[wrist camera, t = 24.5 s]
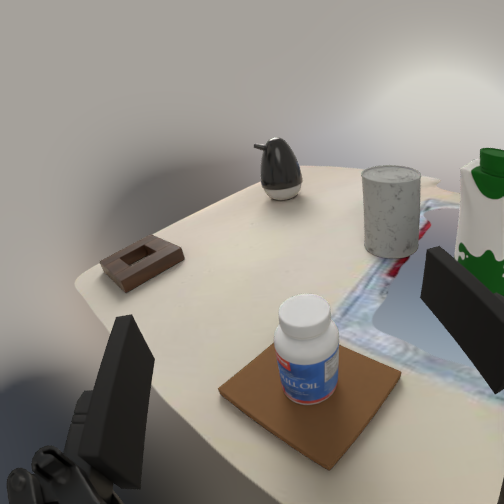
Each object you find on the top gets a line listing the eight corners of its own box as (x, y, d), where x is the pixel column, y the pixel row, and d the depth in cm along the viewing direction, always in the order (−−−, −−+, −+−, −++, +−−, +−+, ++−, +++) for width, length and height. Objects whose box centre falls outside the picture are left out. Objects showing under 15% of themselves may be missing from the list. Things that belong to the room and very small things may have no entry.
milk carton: (436, 311, 34) (452, 147, 24) (464, 279, 37) (478, 137, 28) (492, 341, 27) (533, 166, 17) (513, 301, 30) (542, 152, 21)
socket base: (103, 271, 60) (99, 261, 59) (154, 244, 67) (150, 234, 66) (126, 293, 51) (120, 281, 50) (184, 259, 58) (181, 247, 57)
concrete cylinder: (366, 260, 47) (364, 184, 41) (361, 232, 55) (358, 166, 49) (424, 257, 44) (428, 181, 38) (411, 230, 52) (412, 164, 46)
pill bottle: (271, 394, 28) (253, 321, 23) (299, 357, 32) (289, 282, 27) (322, 414, 25) (319, 341, 20) (347, 372, 28) (349, 295, 24)
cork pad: (220, 394, 30) (217, 388, 30) (295, 330, 37) (294, 323, 36) (329, 470, 20) (329, 466, 20) (400, 377, 27) (401, 371, 27)
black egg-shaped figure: (264, 192, 84) (254, 137, 77) (303, 188, 82) (295, 132, 75) (261, 206, 75) (250, 144, 68) (305, 201, 73) (296, 137, 66)
